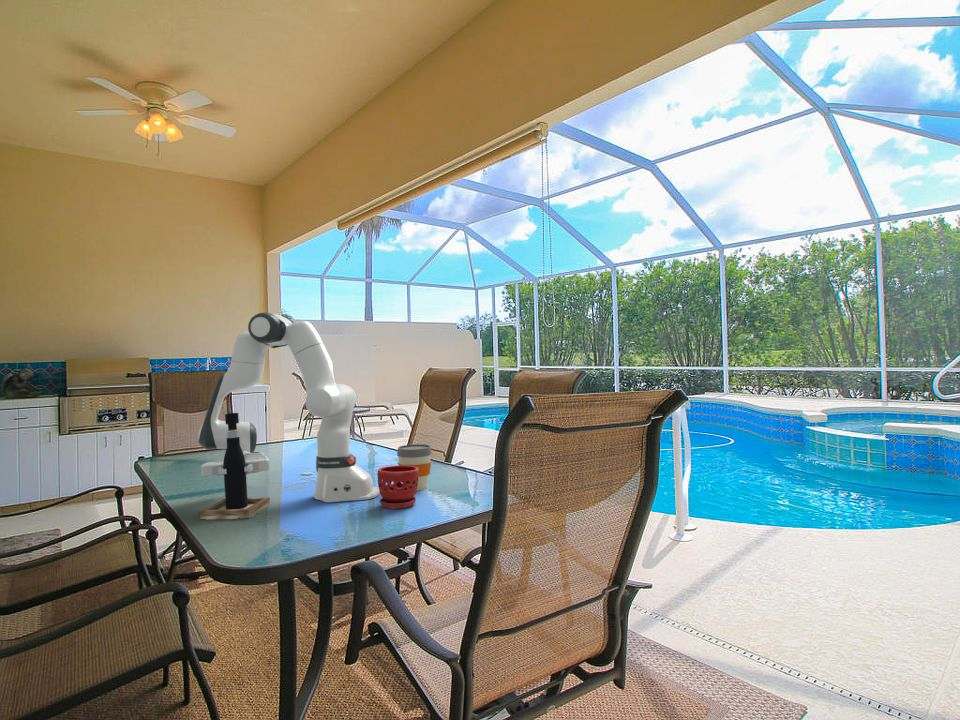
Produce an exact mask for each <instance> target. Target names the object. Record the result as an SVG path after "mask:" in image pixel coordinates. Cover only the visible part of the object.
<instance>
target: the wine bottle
mask: <svg viewBox="0 0 960 720" xmlns="http://www.w3.org/2000/svg"><path fill="white" fill-rule="evenodd" d="M224 418H225V419H224V421H225V423H226V424H228V431H231V432H228V434H227V435H228V436H227V437H228V438H227V449H225V453H224V455H225V456H223V458H224V462H223V467H224V468H225V469H227V471H226V472H227V474H226V475H223V481H224V482H223V484H224V499H225V503H226V509H241V508H244V507H247V506H248V500H247V498H248V485H247V475H246V473H244V466H246V464H245V457H244V454H243V451H242V449H241V447H240V438H239V437H238V431H236V430H237V423H239V422H240V419H239V413H238V412H230V413H229V412H228V413H225V414H224ZM234 430H235V431H234Z"/></svg>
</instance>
